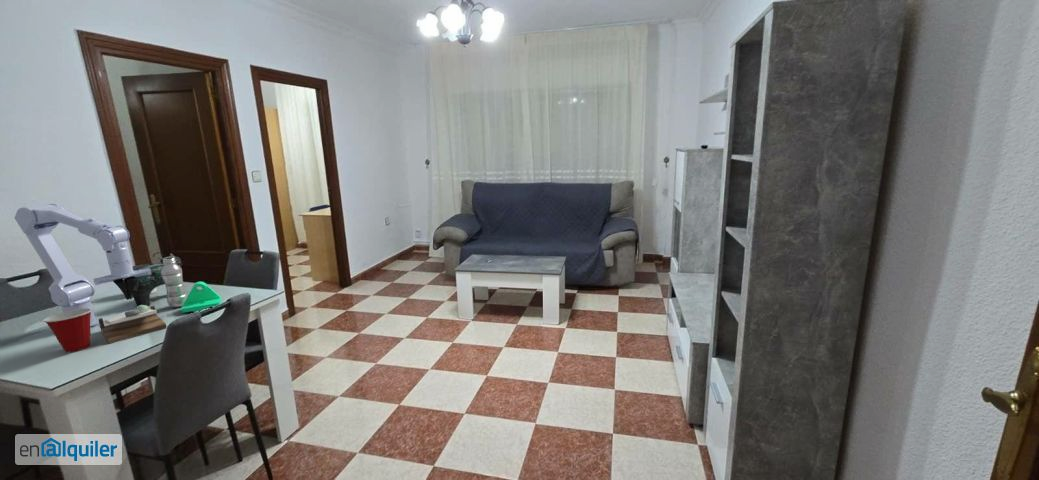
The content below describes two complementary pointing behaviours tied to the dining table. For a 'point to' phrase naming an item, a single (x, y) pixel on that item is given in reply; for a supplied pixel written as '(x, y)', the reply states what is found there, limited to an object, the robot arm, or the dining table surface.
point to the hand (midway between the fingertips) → (128, 298)
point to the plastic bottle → (173, 282)
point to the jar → (141, 268)
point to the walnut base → (131, 327)
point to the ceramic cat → (149, 281)
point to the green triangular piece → (201, 298)
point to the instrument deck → (122, 318)
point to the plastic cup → (71, 328)
